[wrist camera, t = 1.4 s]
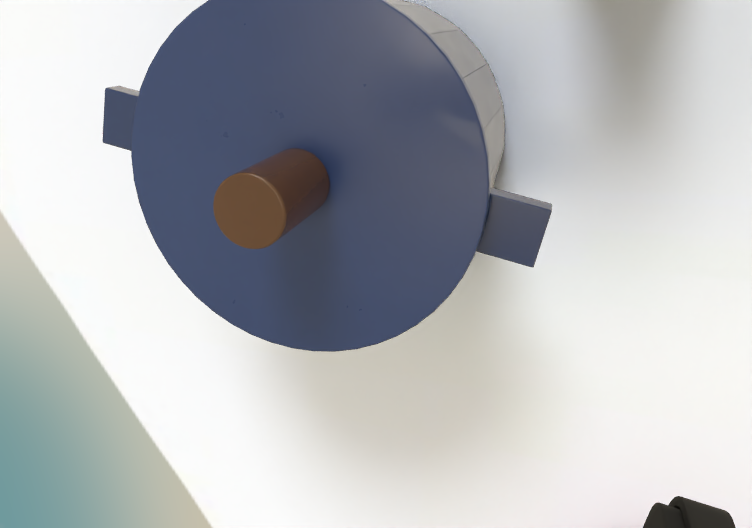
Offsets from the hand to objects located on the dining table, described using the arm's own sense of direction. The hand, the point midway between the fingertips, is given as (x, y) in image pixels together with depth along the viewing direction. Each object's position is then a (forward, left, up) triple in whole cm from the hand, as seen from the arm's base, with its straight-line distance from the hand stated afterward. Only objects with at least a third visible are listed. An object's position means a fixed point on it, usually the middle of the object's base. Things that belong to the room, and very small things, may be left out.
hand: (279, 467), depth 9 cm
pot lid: (+2, -6, -18) cm, 19 cm away
